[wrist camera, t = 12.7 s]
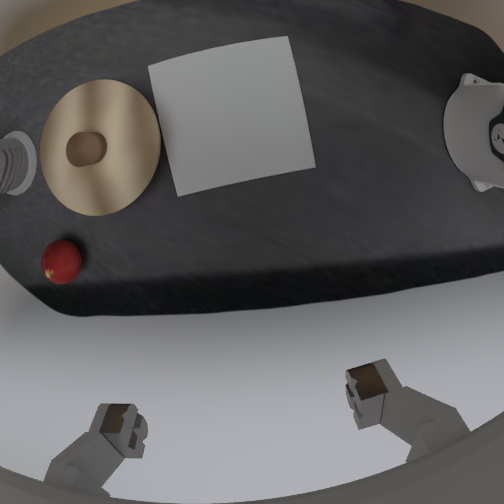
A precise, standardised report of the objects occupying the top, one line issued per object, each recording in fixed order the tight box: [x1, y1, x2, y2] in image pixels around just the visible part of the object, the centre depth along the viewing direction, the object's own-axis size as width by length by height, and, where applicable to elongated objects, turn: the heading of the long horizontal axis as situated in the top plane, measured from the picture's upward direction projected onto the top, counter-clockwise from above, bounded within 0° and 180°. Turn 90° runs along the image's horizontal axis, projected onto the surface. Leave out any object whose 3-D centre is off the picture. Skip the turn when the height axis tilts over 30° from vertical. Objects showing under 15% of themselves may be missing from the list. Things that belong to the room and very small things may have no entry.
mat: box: [148, 36, 316, 196], centre depth 33 cm, size 17×17×1 cm
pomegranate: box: [41, 240, 82, 284], centre depth 34 cm, size 6×6×8 cm
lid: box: [40, 80, 161, 216], centre depth 26 cm, size 15×15×4 cm
